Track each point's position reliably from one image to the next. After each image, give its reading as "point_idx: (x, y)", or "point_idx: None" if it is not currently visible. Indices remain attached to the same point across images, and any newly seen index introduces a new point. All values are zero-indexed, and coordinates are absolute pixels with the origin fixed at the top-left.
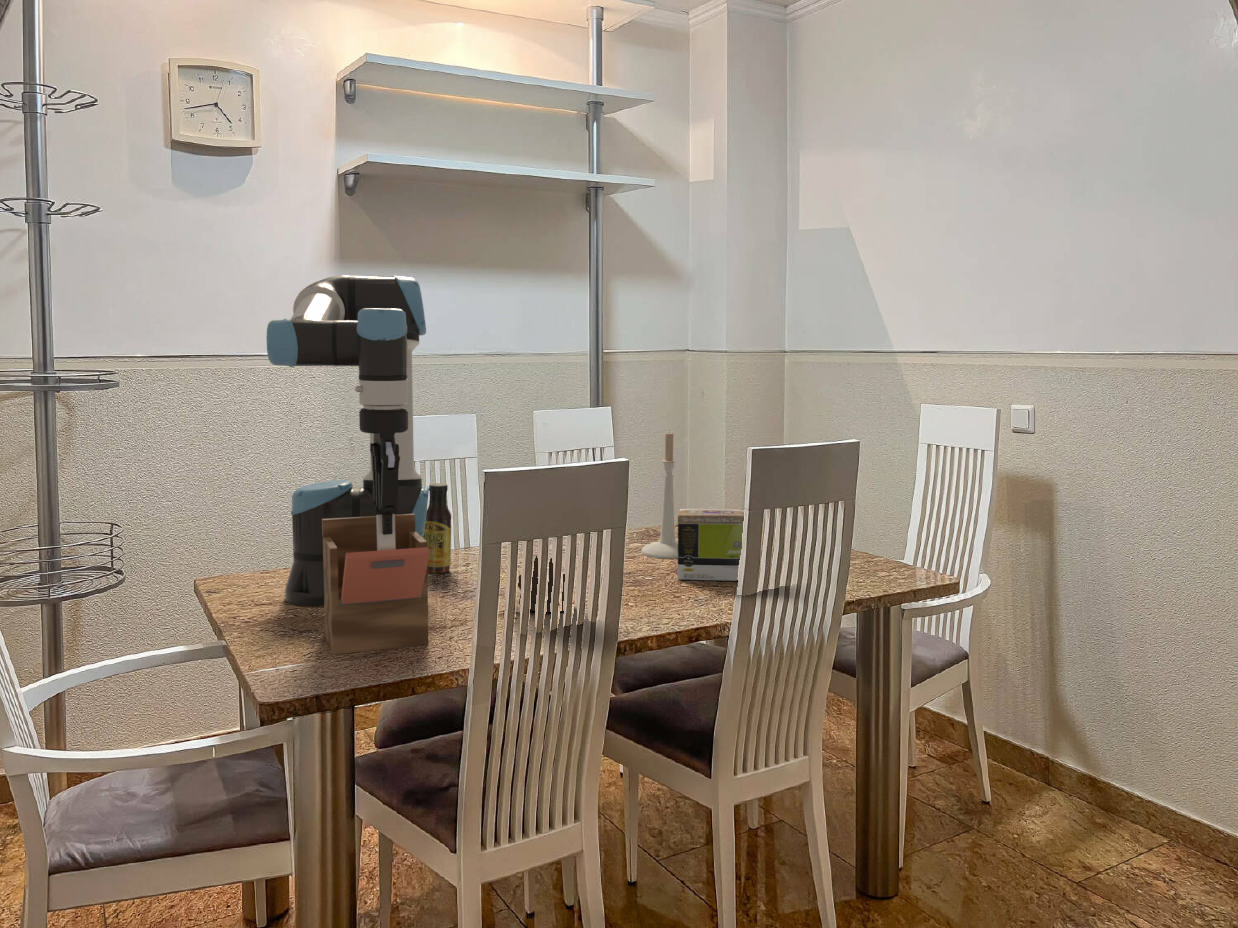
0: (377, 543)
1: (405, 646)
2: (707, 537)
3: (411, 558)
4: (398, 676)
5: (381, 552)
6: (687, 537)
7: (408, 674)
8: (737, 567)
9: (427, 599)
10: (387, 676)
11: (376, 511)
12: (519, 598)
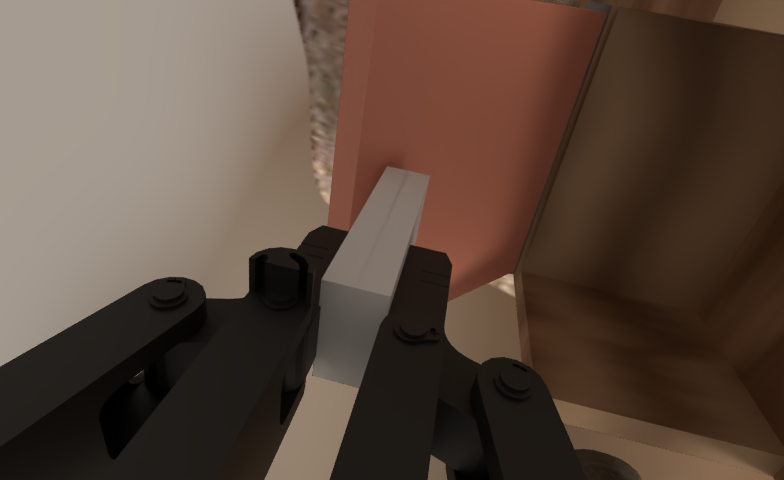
0: (406, 191)
1: None
2: None
3: None
4: (331, 74)
5: (347, 172)
6: None
7: (334, 99)
8: None
9: (514, 277)
10: (342, 51)
11: (265, 274)
12: (625, 469)
